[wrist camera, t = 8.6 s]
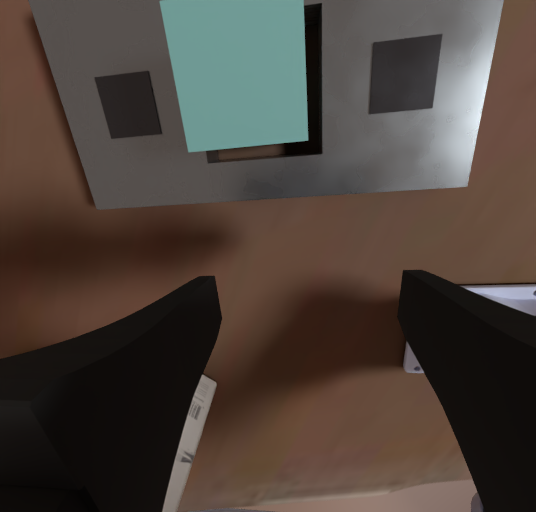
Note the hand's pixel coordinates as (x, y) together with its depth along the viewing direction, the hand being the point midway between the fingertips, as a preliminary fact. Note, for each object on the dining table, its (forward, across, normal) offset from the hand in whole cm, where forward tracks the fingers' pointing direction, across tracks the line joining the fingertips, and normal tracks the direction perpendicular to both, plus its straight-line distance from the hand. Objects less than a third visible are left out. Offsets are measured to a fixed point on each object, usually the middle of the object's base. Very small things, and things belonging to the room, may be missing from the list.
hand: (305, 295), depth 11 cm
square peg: (+9, +2, -8) cm, 12 cm away
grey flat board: (+9, +2, -8) cm, 13 cm away
